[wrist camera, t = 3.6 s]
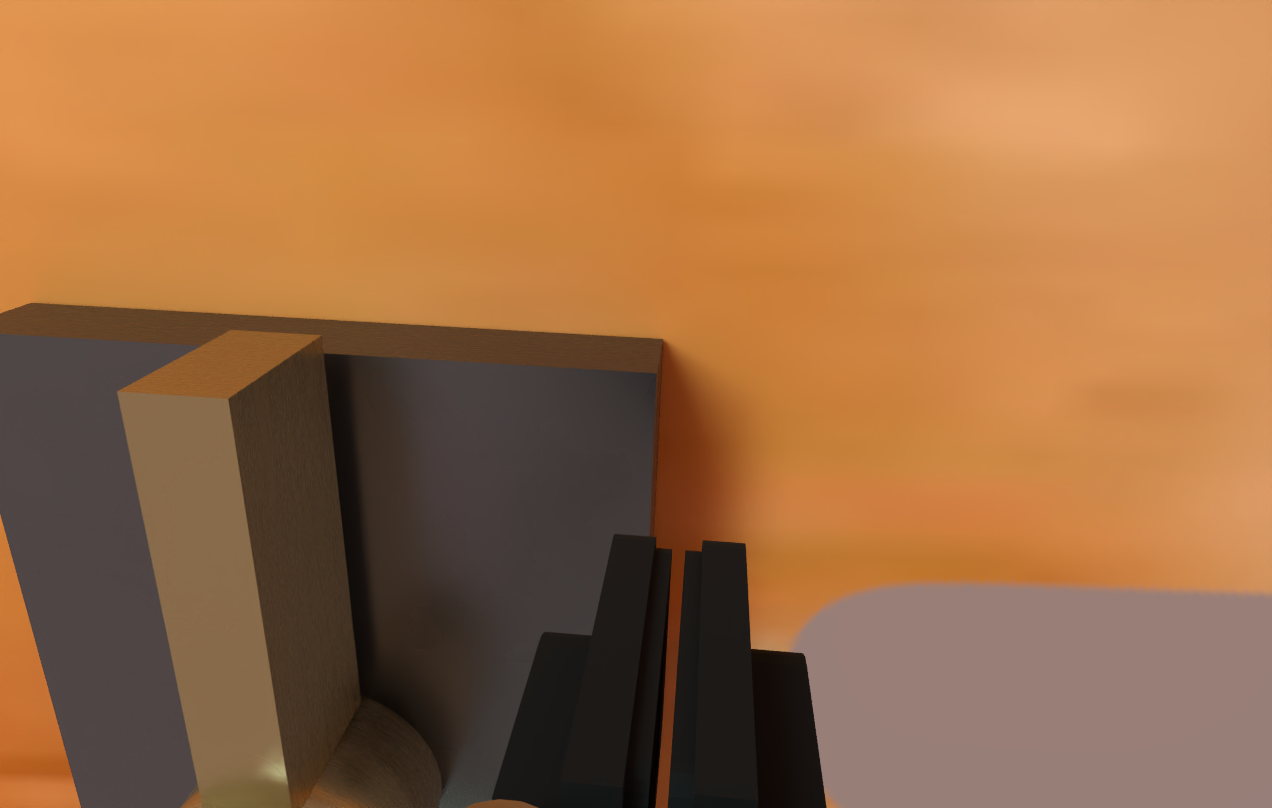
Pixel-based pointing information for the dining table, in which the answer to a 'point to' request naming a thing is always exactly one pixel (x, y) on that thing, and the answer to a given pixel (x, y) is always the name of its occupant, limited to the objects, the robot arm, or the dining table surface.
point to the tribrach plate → (370, 511)
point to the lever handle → (262, 582)
